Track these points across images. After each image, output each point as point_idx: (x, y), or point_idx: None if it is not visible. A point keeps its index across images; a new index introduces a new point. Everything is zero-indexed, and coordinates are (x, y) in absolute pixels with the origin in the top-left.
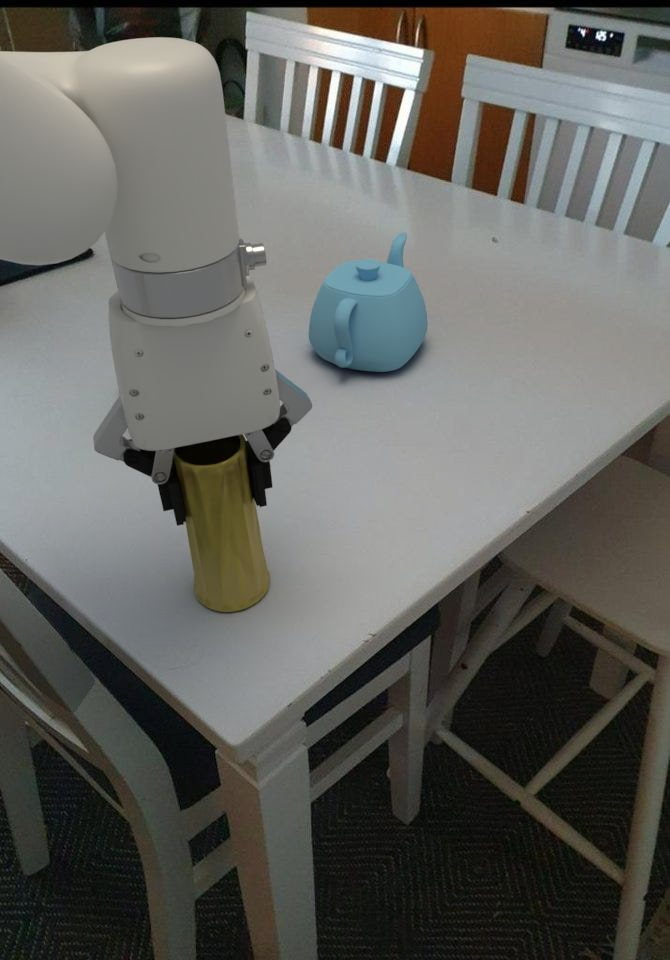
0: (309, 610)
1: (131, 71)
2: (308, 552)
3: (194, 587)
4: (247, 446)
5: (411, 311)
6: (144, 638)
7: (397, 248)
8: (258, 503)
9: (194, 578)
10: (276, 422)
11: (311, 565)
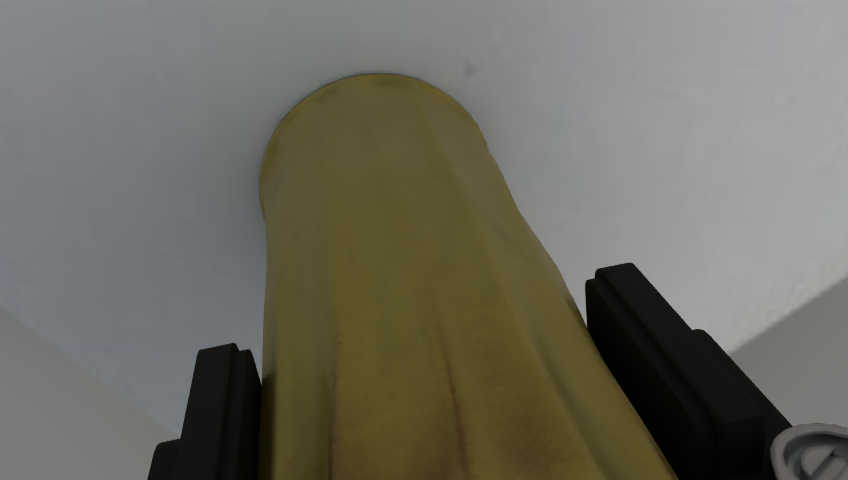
0: (575, 294)
1: None
2: (623, 80)
3: (262, 206)
4: (718, 464)
5: None
6: (131, 344)
7: None
8: None
9: (263, 194)
10: None
11: (619, 137)
